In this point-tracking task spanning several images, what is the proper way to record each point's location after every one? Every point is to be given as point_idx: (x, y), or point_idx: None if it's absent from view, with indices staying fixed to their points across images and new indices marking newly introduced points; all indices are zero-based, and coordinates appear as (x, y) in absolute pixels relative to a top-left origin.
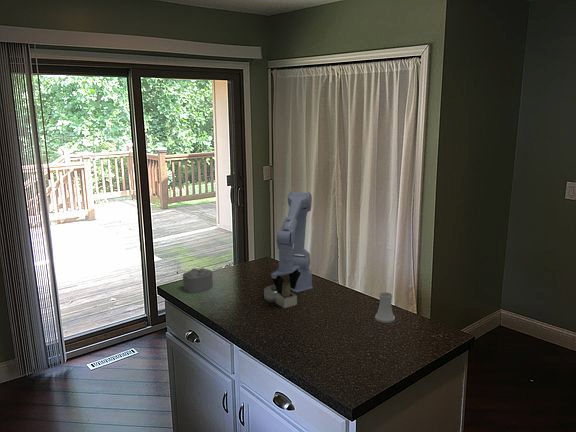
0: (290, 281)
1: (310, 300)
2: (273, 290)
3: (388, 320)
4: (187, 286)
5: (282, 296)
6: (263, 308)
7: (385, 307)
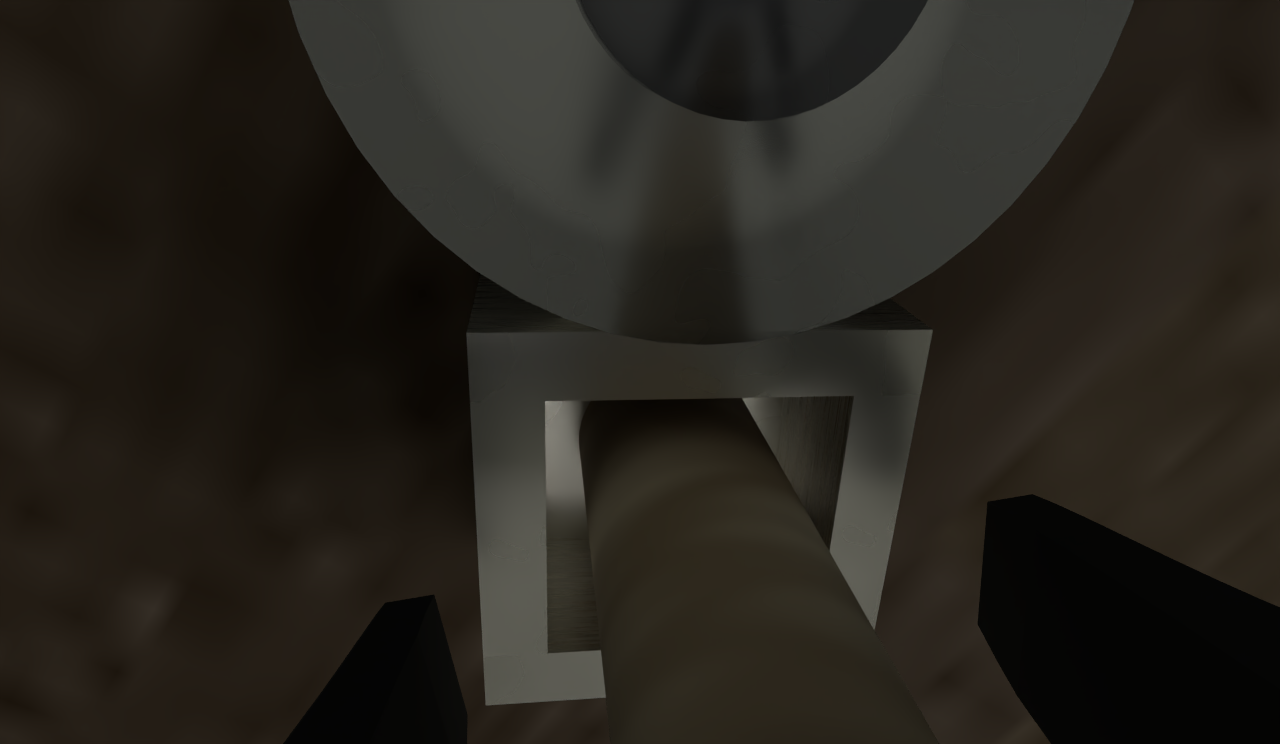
0: (1158, 638)
1: (1115, 490)
2: (581, 9)
3: None
4: None
5: (541, 569)
6: (100, 298)
7: None
